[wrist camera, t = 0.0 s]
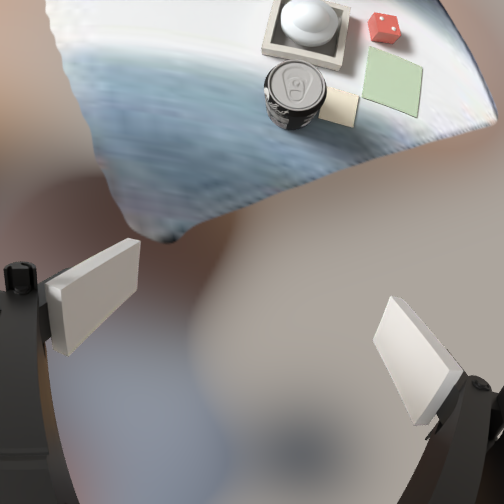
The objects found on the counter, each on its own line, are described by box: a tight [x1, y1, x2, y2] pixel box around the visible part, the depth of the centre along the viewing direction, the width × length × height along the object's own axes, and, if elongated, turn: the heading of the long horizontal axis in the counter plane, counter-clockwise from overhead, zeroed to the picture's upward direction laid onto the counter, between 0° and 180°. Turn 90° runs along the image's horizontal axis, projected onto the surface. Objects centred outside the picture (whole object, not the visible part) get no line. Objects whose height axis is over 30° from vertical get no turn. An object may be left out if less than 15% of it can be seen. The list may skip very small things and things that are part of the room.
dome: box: [281, 0, 338, 47], centre depth 29 cm, size 8×8×5 cm
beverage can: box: [264, 60, 327, 130], centre depth 31 cm, size 7×7×12 cm
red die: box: [368, 12, 401, 44], centre depth 31 cm, size 4×4×4 cm
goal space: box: [362, 46, 422, 117], centre depth 34 cm, size 9×9×1 cm
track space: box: [318, 87, 359, 128], centre depth 36 cm, size 5×5×1 cm
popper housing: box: [261, 0, 351, 71], centre depth 32 cm, size 11×11×2 cm
